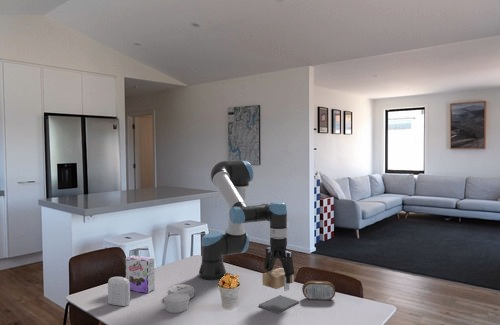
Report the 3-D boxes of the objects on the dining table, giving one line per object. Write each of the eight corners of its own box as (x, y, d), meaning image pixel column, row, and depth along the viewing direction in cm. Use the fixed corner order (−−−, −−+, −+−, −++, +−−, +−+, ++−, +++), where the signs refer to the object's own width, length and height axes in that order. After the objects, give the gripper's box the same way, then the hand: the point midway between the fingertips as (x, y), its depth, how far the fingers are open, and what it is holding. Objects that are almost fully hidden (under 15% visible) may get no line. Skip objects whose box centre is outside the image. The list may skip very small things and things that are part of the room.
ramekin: (161, 306, 164) (161, 294, 164) (186, 302, 169) (186, 290, 169) (166, 316, 154) (166, 303, 154) (192, 311, 159) (192, 299, 158)
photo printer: (131, 303, 168) (131, 276, 167) (125, 307, 164) (125, 279, 163) (112, 301, 171) (112, 274, 171) (106, 304, 167) (106, 277, 166)
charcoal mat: (258, 306, 163) (258, 304, 163) (280, 296, 174) (280, 295, 174) (277, 313, 155) (277, 311, 155) (299, 303, 166) (299, 301, 166)
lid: (199, 296, 175) (199, 286, 175) (178, 305, 166) (178, 294, 166) (183, 290, 184) (183, 280, 184) (162, 298, 174) (161, 287, 174)
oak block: (276, 289, 157) (293, 282, 166) (276, 277, 157) (293, 271, 165) (262, 284, 162) (279, 278, 171) (262, 273, 162) (279, 267, 171)
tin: (334, 298, 171) (334, 280, 171) (335, 301, 168) (335, 283, 168) (302, 297, 173) (302, 279, 172) (302, 300, 169) (302, 282, 169)
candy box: (125, 290, 184) (124, 257, 184) (133, 286, 190) (132, 254, 190) (147, 293, 179) (147, 260, 179) (155, 289, 185) (154, 257, 184)
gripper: (255, 235, 169) (256, 284, 169) (291, 242, 154) (292, 296, 154) (266, 232, 174) (267, 280, 174) (302, 239, 160) (303, 291, 160)
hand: (279, 287), depth 164 cm, fingers closed on oak block, 8 cm apart
